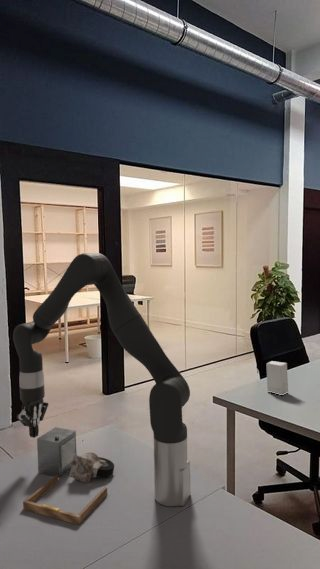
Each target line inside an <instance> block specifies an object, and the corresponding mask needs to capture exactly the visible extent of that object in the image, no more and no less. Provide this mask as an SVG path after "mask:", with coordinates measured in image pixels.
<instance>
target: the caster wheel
mask: <svg viewBox="0 0 320 569" xmlns="http://www.w3.org/2000/svg"><path fill="white" fill-rule="evenodd" d="M114 470H115V464H114V463H113V461H112V460H110V459H107V458H105V457H100V456H98V455H97V453H94V452H86V453H84V454H82V455H80V456H79V455H74V458H73V463H72V467H71V469H70V470H69V471H70V472H69V477H70V478H72V479H74V480H77V481H81V482H82V483H85V484H87V485H89V484H90V482H91V478H94V479H95V478H103V479H105V478H106V479H107V478H110V477H112V475H113V473H114Z"/></svg>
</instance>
